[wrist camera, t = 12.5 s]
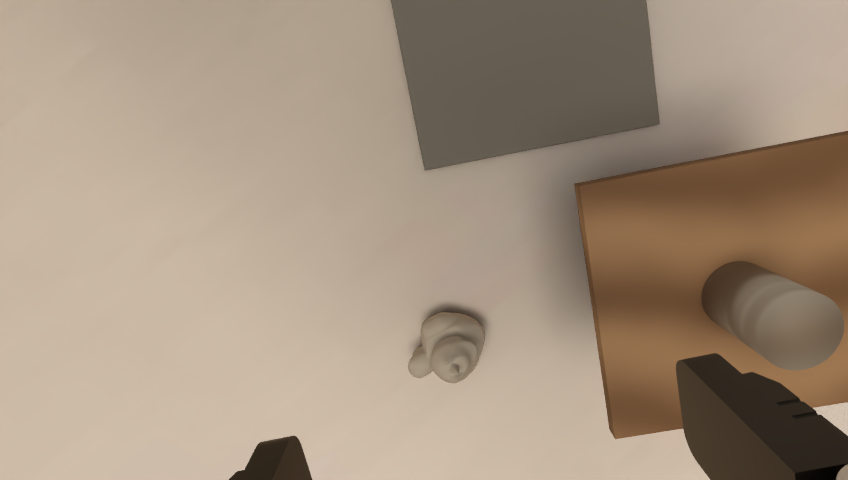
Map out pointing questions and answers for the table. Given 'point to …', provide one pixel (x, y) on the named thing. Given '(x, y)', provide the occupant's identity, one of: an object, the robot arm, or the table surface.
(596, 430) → the table surface
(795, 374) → the walnut lid
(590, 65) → the charcoal mat
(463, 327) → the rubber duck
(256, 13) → the table surface
